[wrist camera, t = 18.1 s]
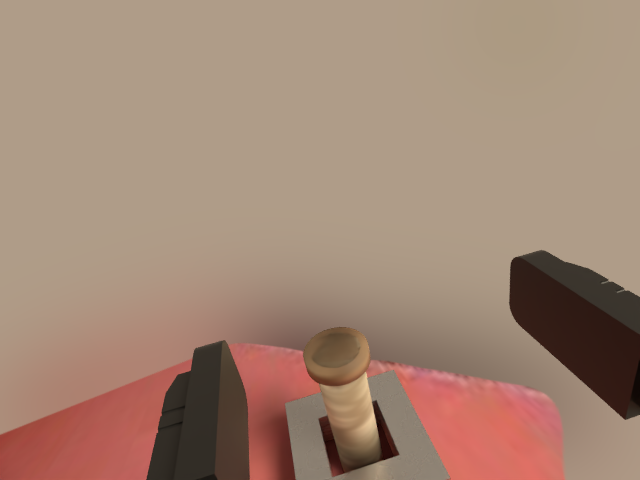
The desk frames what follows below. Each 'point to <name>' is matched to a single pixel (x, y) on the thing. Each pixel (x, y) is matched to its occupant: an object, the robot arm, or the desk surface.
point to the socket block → (390, 411)
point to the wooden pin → (346, 393)
